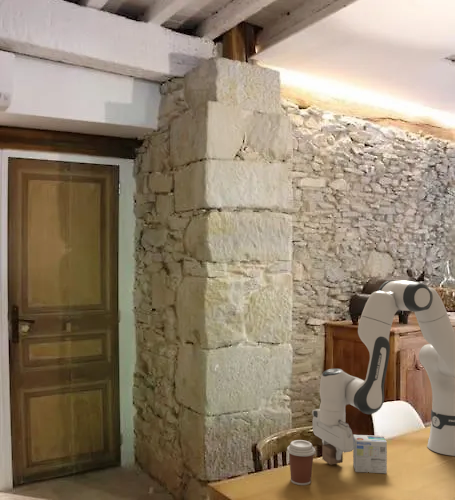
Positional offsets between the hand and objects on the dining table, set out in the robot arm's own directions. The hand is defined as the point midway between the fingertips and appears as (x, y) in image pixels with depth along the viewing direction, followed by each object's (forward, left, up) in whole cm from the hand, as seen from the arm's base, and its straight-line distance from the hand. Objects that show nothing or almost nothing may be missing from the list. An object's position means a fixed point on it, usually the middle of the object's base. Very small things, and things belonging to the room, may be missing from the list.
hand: (332, 456), depth 184 cm
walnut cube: (0, 0, -2) cm, 2 cm away
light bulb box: (-10, +8, -3) cm, 13 cm away
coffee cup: (+17, +8, -3) cm, 19 cm away
